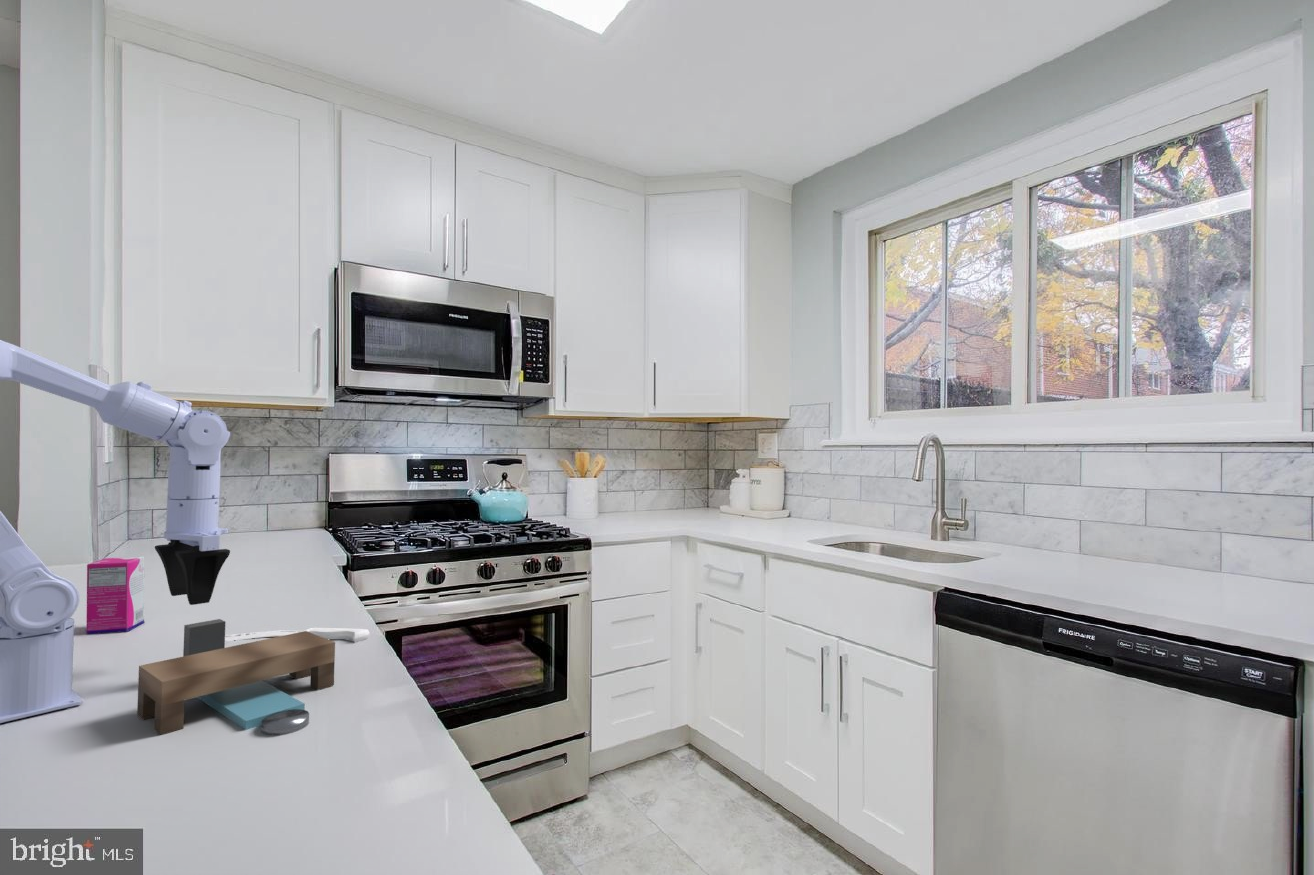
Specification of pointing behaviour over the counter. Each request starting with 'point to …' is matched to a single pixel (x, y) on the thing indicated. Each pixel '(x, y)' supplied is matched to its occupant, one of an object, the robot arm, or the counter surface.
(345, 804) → the counter surface
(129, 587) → the supplement box
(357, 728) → the counter surface
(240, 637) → the knife
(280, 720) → the steel token
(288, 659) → the low wooden stool
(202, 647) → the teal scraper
